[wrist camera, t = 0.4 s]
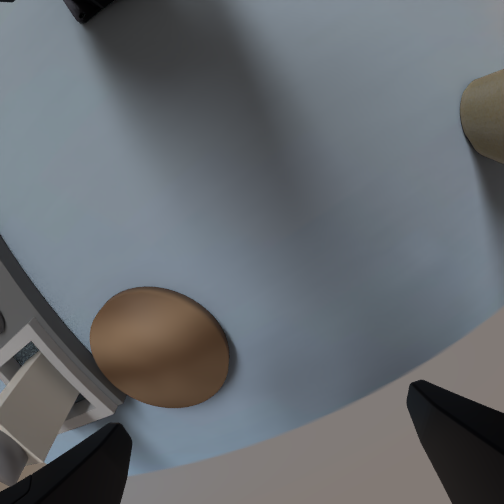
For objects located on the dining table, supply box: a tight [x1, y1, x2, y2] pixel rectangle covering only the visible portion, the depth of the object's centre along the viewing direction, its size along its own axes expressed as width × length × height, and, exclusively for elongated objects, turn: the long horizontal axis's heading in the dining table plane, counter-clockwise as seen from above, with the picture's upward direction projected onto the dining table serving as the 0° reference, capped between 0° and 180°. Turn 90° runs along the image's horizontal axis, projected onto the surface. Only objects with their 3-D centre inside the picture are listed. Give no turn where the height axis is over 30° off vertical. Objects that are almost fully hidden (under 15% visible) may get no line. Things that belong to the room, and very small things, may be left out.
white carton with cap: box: [0, 350, 80, 486], centre depth 19 cm, size 5×5×13 cm
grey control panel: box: [0, 236, 127, 434], centre depth 22 cm, size 21×12×3 cm, turn 33°
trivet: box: [90, 287, 229, 408], centre depth 23 cm, size 11×11×1 cm
